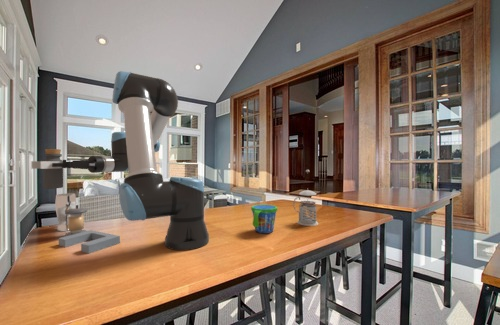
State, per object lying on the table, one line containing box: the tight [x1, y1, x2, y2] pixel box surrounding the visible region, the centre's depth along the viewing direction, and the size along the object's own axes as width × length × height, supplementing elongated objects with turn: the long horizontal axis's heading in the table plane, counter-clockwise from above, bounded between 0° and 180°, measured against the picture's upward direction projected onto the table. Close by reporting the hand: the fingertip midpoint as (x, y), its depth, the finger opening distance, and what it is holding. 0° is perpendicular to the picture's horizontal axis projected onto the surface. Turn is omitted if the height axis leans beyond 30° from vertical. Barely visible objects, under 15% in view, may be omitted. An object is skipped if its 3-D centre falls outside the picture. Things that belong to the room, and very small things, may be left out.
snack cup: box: [250, 204, 278, 234], centre depth 96 cm, size 16×10×10 cm
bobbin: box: [64, 207, 88, 237], centre depth 91 cm, size 7×7×10 cm
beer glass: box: [54, 192, 77, 232], centre depth 99 cm, size 7×7×15 cm
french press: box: [292, 169, 319, 227], centre depth 109 cm, size 10×12×25 cm
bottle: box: [42, 148, 64, 190], centre depth 90 cm, size 6×6×15 cm
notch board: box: [58, 229, 121, 255], centre depth 82 cm, size 17×10×2 cm, turn 65°
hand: (36, 165), depth 86 cm, fingers closed on bottle, 6 cm apart
